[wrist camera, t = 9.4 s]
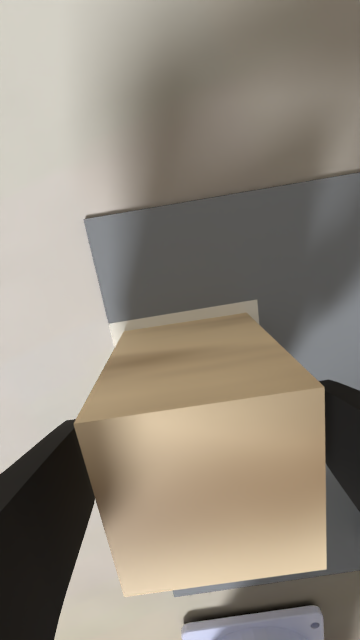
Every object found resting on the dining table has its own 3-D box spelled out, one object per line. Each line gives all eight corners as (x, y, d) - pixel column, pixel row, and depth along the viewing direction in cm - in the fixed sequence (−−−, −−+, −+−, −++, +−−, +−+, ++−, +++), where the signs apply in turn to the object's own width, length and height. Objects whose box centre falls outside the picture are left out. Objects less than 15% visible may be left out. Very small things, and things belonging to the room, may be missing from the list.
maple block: (256, 419, 13) (326, 569, 7) (146, 435, 13) (124, 597, 7) (246, 312, 11) (324, 386, 6) (123, 331, 11) (73, 423, 6)
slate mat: (481, 550, 15) (484, 553, 15) (174, 594, 16) (174, 597, 16) (553, 140, 10) (558, 138, 10) (84, 219, 10) (83, 219, 10)
